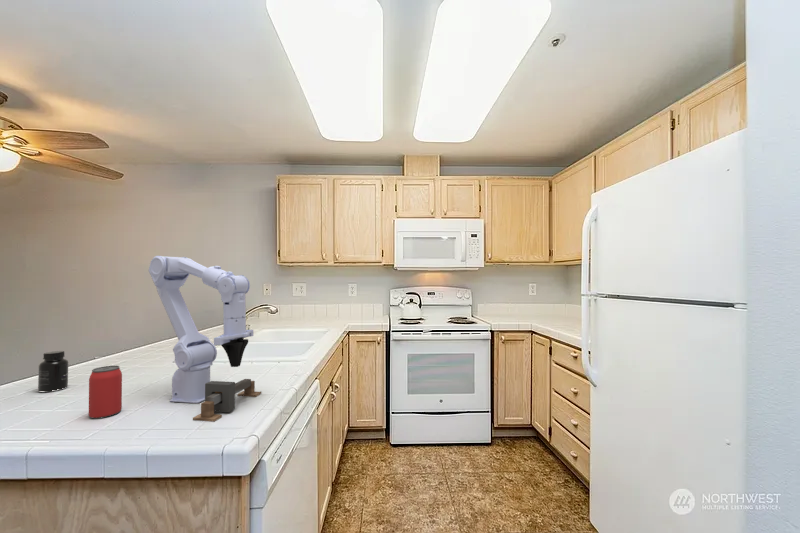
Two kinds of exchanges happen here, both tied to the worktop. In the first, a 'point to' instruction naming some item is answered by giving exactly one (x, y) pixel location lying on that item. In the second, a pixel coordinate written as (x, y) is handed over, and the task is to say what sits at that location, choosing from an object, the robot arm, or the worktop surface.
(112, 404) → the beer can
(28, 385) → the worktop surface
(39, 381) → the supplement bottle
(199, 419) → the square bar stand
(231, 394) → the collar
